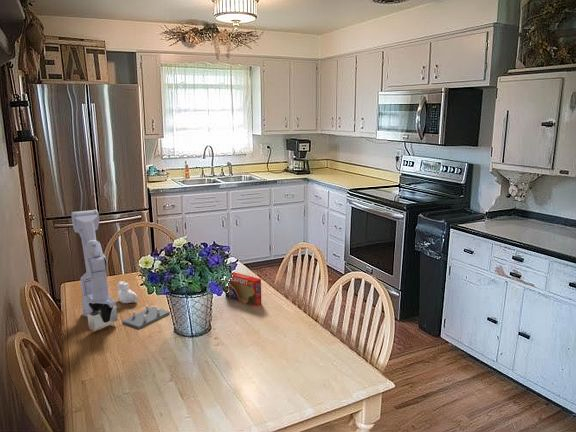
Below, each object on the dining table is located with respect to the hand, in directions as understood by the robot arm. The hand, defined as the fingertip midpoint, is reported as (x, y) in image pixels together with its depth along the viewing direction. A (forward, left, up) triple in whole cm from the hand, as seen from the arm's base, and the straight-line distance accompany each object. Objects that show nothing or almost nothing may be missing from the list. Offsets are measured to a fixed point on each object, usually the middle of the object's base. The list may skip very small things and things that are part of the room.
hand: (103, 320), depth 175 cm
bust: (-14, +22, -4) cm, 26 cm away
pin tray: (+7, +15, -4) cm, 17 cm away
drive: (0, 0, -2) cm, 2 cm away
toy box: (+30, +50, -4) cm, 58 cm away
